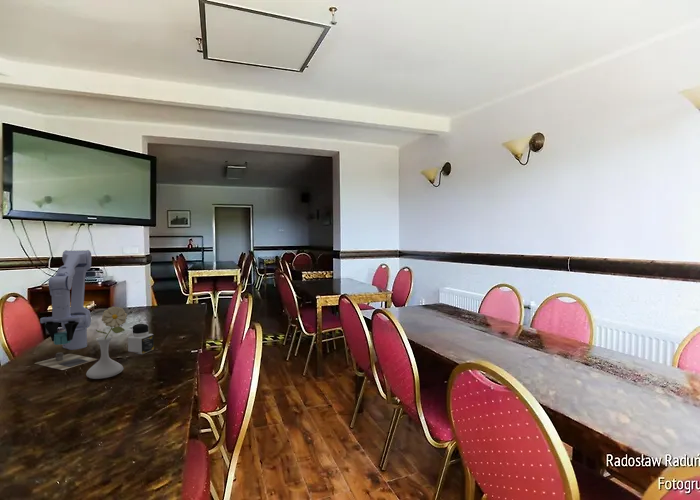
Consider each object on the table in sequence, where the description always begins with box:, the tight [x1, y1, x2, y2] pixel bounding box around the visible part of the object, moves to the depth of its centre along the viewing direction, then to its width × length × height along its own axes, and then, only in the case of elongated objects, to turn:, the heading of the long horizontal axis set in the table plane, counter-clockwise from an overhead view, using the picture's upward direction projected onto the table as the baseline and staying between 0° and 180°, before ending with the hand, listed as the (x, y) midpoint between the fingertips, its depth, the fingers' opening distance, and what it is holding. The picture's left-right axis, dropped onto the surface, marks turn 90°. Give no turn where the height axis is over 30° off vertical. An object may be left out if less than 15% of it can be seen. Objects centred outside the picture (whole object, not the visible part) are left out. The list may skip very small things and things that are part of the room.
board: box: [34, 352, 99, 371], centre depth 149 cm, size 18×13×4 cm
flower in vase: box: [85, 306, 128, 380], centre depth 137 cm, size 13×11×25 cm
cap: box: [53, 330, 71, 346], centre depth 150 cm, size 5×5×4 cm
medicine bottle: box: [127, 323, 155, 355], centre depth 164 cm, size 7×7×12 cm
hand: (62, 340), depth 150 cm, fingers closed on cap, 5 cm apart
